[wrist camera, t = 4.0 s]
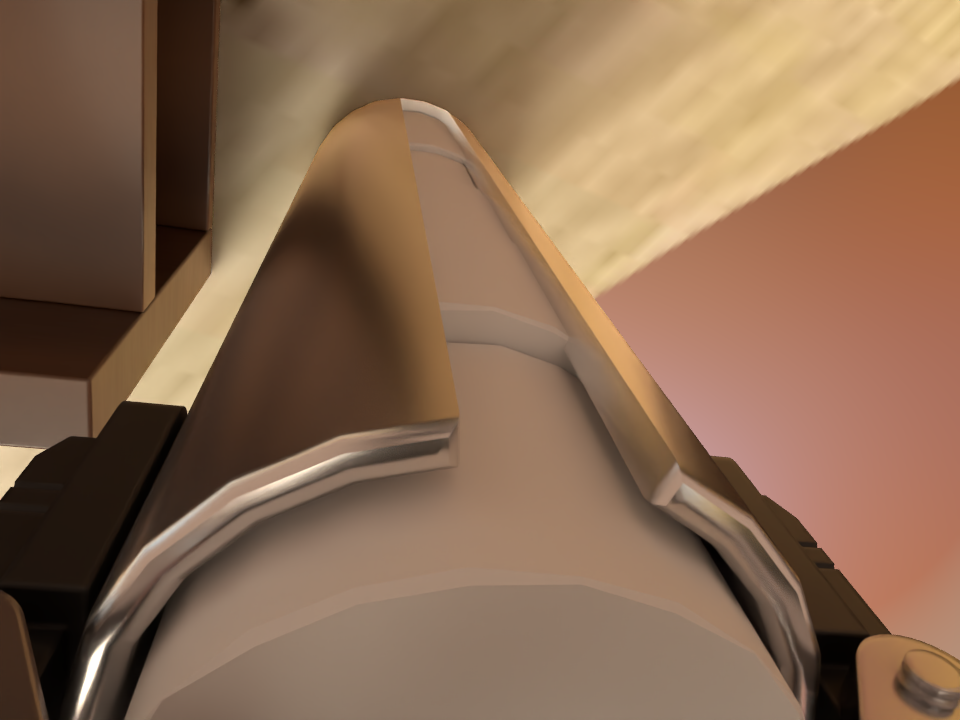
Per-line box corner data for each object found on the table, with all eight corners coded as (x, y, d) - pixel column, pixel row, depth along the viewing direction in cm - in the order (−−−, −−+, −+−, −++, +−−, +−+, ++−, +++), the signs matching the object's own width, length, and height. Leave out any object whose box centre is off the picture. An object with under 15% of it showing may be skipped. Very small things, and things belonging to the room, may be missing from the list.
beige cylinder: (529, 190, 29) (1046, 822, 6) (405, 312, 31) (467, 1196, 8) (398, 54, 27) (480, 281, 4) (271, 193, 28) (-205, 946, 5)
